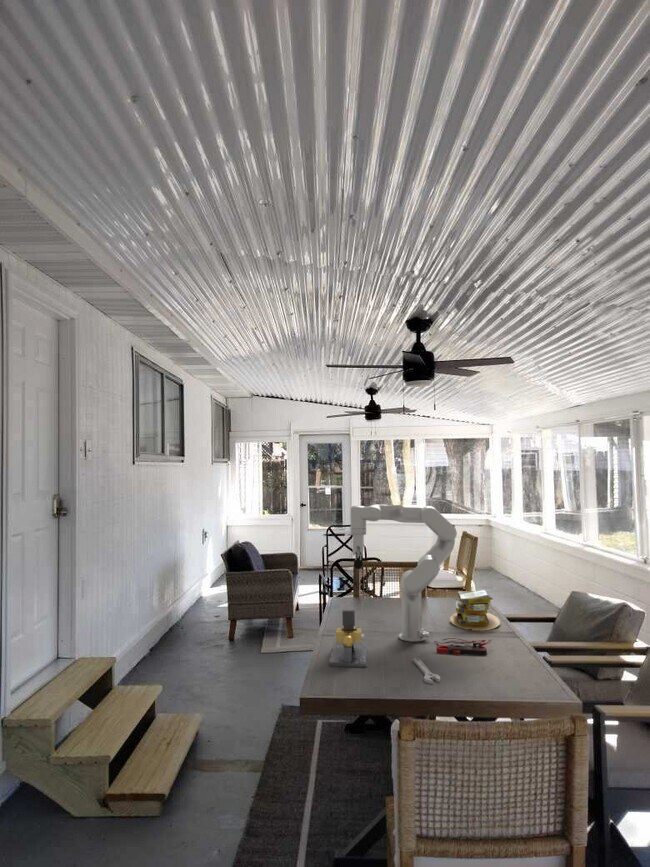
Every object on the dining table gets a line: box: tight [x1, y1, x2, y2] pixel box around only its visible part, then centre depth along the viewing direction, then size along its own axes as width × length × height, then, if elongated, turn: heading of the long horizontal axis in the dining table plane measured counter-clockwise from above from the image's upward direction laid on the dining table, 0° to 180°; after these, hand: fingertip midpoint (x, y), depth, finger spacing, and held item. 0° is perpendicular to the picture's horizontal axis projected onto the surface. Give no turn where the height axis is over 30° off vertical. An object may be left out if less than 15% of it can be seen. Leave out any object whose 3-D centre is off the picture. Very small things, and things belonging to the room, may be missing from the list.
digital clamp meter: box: [434, 637, 492, 656], centre depth 248 cm, size 23×4×25 cm
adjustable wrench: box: [413, 657, 441, 684], centre depth 218 cm, size 25×6×2 cm, turn 2°
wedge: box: [341, 609, 356, 631], centre depth 237 cm, size 2×5×12 cm, turn 85°
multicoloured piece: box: [328, 625, 368, 668], centre depth 237 cm, size 25×15×11 cm, turn 174°
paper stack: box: [449, 589, 501, 631], centre depth 286 cm, size 25×25×17 cm
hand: (358, 566), depth 266 cm, fingers open, 9 cm apart
